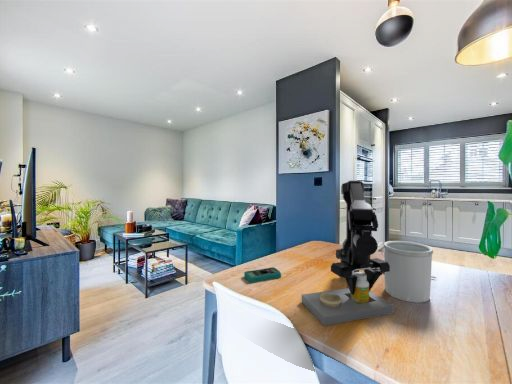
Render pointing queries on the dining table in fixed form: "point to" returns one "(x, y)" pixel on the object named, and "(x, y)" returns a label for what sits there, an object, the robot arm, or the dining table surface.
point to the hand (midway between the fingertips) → (359, 292)
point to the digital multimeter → (262, 274)
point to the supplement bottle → (361, 289)
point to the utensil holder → (408, 270)
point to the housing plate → (343, 306)
